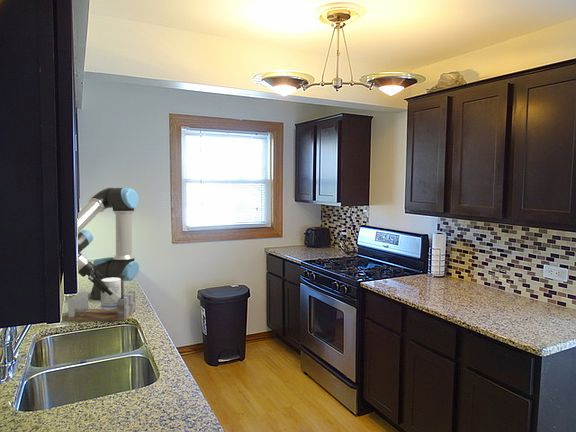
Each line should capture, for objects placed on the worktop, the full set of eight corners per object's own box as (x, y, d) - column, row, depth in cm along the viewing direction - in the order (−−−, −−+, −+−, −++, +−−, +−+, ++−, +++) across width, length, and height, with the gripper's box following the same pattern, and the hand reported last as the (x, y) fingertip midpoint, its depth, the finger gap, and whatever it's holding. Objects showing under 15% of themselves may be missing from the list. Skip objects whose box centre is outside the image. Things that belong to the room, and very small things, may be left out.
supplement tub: (104, 305, 212) (104, 277, 211) (123, 305, 213) (123, 277, 212) (98, 310, 202) (97, 281, 201) (118, 310, 203) (117, 281, 202)
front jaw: (82, 308, 214) (82, 291, 214) (88, 308, 215) (88, 291, 214) (68, 317, 199) (67, 299, 199) (74, 317, 200) (74, 299, 199)
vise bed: (81, 311, 215) (80, 267, 214) (135, 311, 216) (134, 268, 215) (65, 320, 199) (64, 274, 198) (124, 320, 200) (123, 274, 199)
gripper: (81, 267, 212) (114, 296, 218) (72, 276, 191) (109, 307, 197) (92, 257, 214) (125, 285, 219) (85, 264, 192) (121, 295, 198)
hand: (118, 296), depth 208 cm, fingers closed on supplement tub, 9 cm apart
